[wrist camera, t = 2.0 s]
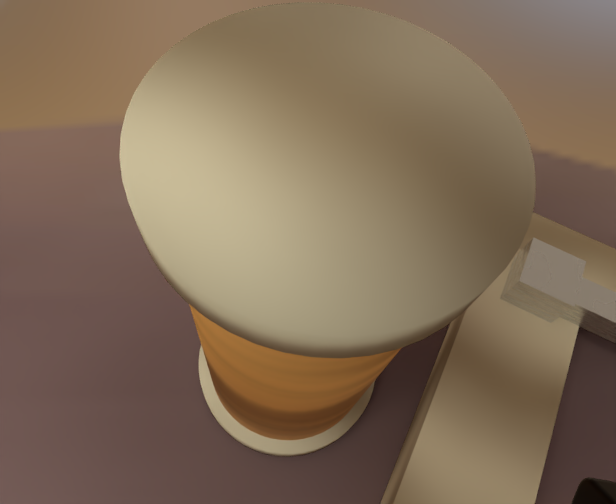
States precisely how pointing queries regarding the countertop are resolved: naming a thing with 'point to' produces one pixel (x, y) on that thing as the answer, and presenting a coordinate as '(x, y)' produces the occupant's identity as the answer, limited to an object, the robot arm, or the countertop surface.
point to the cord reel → (320, 204)
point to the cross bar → (559, 289)
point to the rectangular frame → (494, 393)
